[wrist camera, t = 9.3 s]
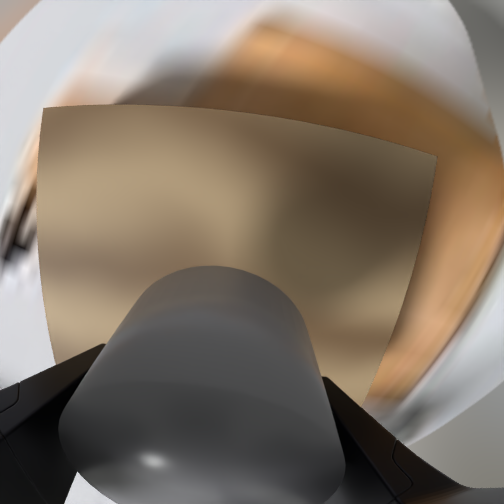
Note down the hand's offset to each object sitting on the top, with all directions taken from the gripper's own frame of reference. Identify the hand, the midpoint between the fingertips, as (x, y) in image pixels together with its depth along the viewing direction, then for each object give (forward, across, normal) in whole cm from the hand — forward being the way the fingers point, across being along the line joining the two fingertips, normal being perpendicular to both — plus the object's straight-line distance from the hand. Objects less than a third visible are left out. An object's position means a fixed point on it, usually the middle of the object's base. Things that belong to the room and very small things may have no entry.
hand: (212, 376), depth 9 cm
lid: (+6, +1, 0) cm, 6 cm away
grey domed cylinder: (+1, 0, 0) cm, 1 cm away
